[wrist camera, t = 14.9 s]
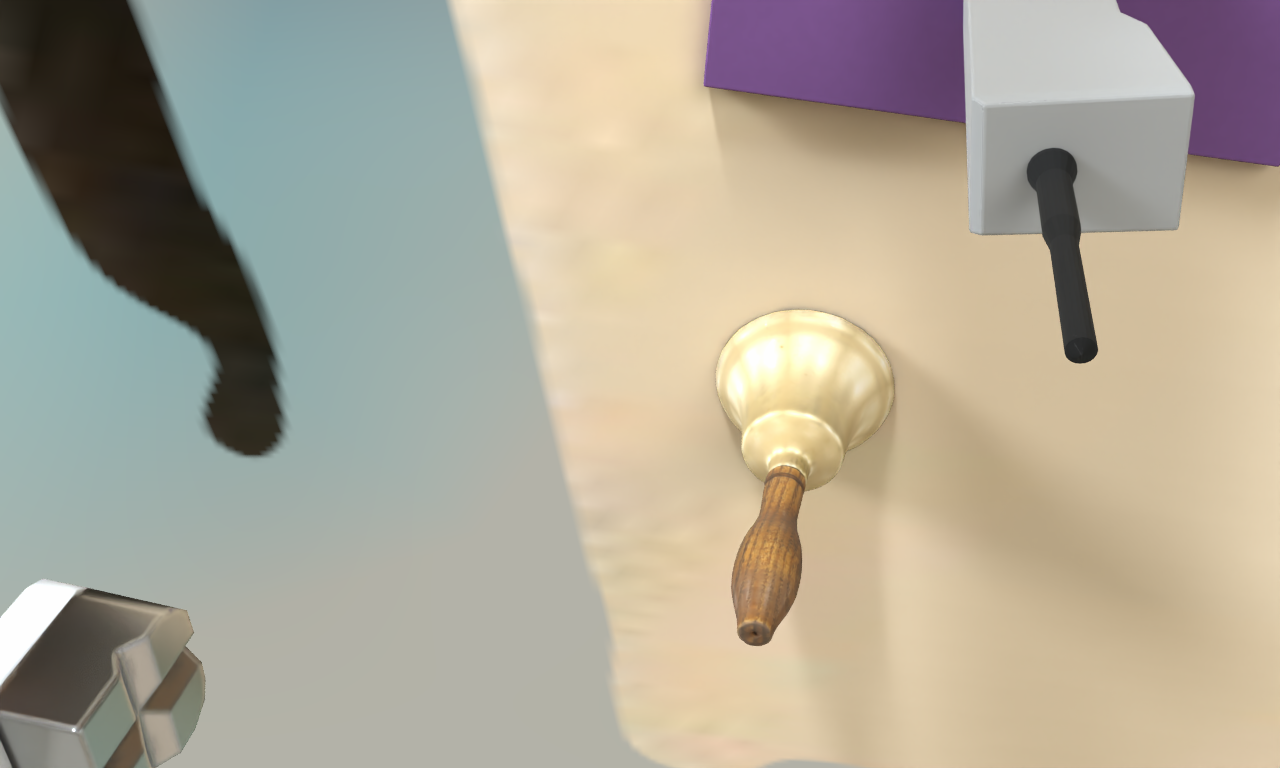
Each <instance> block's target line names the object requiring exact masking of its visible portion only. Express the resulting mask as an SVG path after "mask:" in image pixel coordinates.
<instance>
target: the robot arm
mask: <svg viewBox="0 0 1280 768" xmlns="http://www.w3.org/2000/svg"><path fill="white" fill-rule="evenodd" d="M193 633H194V631H193V628H192V625H191V622H190V619H189V616H188V612H187V610H183V609H178V608H174V607H170V606H165V605H161V604H156V603H152V602H147V601H143V600H138V599H134V598H130V597H125V596H121V595H116V594H111V593H107V592H103V591H99V590H94V589H91V588H86V587H81V586H76V585H71V584H67V583H62V582H57V581H52V580H47V579H42V580H40V581H38V582H36V583H35V584H33V585H31V586H29V587H27V588H26V589H25V590H24V591H23V592H22V593H21V594H20V596H19V597H18V598H17V599H16V600H15V601H14V602H13V604H12V605H11V606H10V607H9V608H8V609H7V610H6V611H5V613H4V614H3V615H2V616H1V617H0V768H156V767H158V766H159V765H161V764H163V763H164V762H166V761H168V760H169V759H171V758H172V757H174V756H176V755H178V754H179V753H181V751H182V750H183V748H184V747H185V745H186V743H187V741H188V740H189V738H190V736H191V735H192V733H193V731H194V730H195V728H196V725H197V722H198V719H199V715H200V712H201V709H202V706H203V703H204V699H205V675H204V670H203V666H202V662H201V661H200V660H199V659H198V658H197V657H196V656H195V655H194V654H193V653H191V651H190V650H189V649H188V648H187V647H186V644H187V643H188V641H189V639H190V638H191V636H192V635H193Z"/></svg>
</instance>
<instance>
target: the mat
mask: <svg viewBox="0 0 1280 768" xmlns="http://www.w3.org/2000/svg"><path fill="white" fill-rule="evenodd" d="M1116 1H1117V4H1118V7H1119V10H1120V12H1121V13H1123V14H1125V15H1128V16H1130V17H1132V18H1134V19H1136V20H1138V21H1141V22H1143V23H1145V24H1147V25H1148V26H1149V28H1150V29H1151V30H1152V32H1153V33H1154V35H1155V36H1156V37H1157V39H1158V40H1159V42H1160V43H1161V44H1162V46H1163V47H1164V49H1165V50H1166V51H1167V53H1168V54H1169V55H1170V57H1171V58H1172V60H1173V61H1174V62H1175V64H1176V65H1177V67H1178V68H1179V69H1180V71H1181V72H1182V74H1183V75H1184V76H1185V78H1186V79H1187V81H1188V82H1189V83H1190V85H1191V87H1192V89H1193V91H1194V94H1195V99H1194V107H1193V115H1192V123H1191V131H1190V139H1189V147H1188V154H1191V155H1198V156H1205V157H1212V158H1219V159H1227V160H1234V161H1241V162H1248V163H1255V164H1262V165H1269V166H1277V167H1278V166H1279V165H1280V0H1116ZM704 86H705V87H712V88H719V89H726V90H733V91H741V92H748V93H755V94H762V95H769V96H776V97H784V98H791V99H798V100H805V101H812V102H819V103H826V104H834V105H841V106H848V107H855V108H862V109H869V110H876V111H884V112H891V113H898V114H905V115H912V116H919V117H926V118H934V119H941V120H948V121H955V122H962V123H966V105H965V73H964V40H963V0H712V3H711V13H710V24H709V34H708V44H707V54H706V65H705V75H704Z"/></svg>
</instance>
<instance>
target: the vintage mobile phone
mask: <svg viewBox="0 0 1280 768" xmlns="http://www.w3.org/2000/svg"><path fill="white" fill-rule="evenodd" d="M963 40H964V73H965V105H966V138H967V171H968V203H969V230H970V232H971V233H975V234H979V235H1013V234H1042V235H1043V238H1044V240H1045V242H1046V244H1047V245H1048V247H1049V249H1050V253H1051V260H1052V267H1053V274H1054V281H1055V288H1056V295H1057V302H1058V309H1059V316H1060V323H1061V330H1062V337H1063V343H1064V350H1065V355H1066V357H1067V359H1069V360H1070V361H1072V362H1074V363H1079V364H1081V363H1086V362H1089V361H1091V360H1092V359H1094V358H1095V356H1096V355H1097V352H1098V347H1097V341H1096V336H1095V330H1094V325H1093V319H1092V314H1091V309H1090V303H1089V298H1088V292H1087V287H1086V282H1085V276H1084V271H1083V265H1082V260H1081V254H1080V249H1079V241H1080V235H1081V233H1088V232H1125V231H1163V230H1177V229H1178V227H1179V220H1180V212H1181V203H1182V195H1183V187H1184V179H1185V171H1186V163H1187V155H1188V147H1189V139H1190V131H1191V123H1192V115H1193V107H1194V99H1195V94H1194V91H1193V89H1192V87H1191V85H1190V83H1189V82H1188V81H1187V79H1186V78H1185V76H1184V75H1183V74H1182V72H1181V71H1180V69H1179V68H1178V67H1177V65H1176V64H1175V62H1174V61H1173V60H1172V58H1171V57H1170V55H1169V54H1168V53H1167V51H1166V50H1165V49H1164V47H1163V46H1162V44H1161V43H1160V42H1159V40H1158V39H1157V37H1156V36H1155V35H1154V33H1153V32H1152V30H1151V29H1150V28H1149V26H1148V25H1147V24H1145V23H1143V22H1141V21H1138V20H1136V19H1134V18H1132V17H1130V16H1128V15H1125V14H1123V13H1121V12H1120V10H1119V7H1118V4H1117V1H1116V0H963Z"/></svg>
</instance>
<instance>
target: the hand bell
mask: <svg viewBox="0 0 1280 768" xmlns="http://www.w3.org/2000/svg"><path fill="white" fill-rule="evenodd" d="M716 387H717V392H718V396H719V399H720V402H721V404H722V406H723V408H724V410H725V412H726V413H727V415H728V417H729V418H730V420H731V421H732V422H733V424H734V425H735V426H736V427H737V428H738V429H739V430H740V431H741V432H742V454H743V458H744V461H745V463H746V464H747V466H748V468H749V469H750V471H751V472H752V473H753V474H754V475H755V476H756V477H757V478H758V479H760V480H761V481H762V482H764V483H765V487H764V492H763V498H762V505H761V510H760V514H759V517H758V518H757V520H756V522H755V523H754V525H753V526H752V527H751V528H750V530H749V531H748V533H747V534H746V536H745V537H744V539H743V541H742V543H741V546H740V548H739V551H738V554H737V557H736V560H735V563H734V568H733V573H732V585H731V590H732V598H733V603H734V608H735V613H736V617H737V633H738V636H739V638H740V639H741V640H743V641H744V642H745V643H746V644H748V645H753V646H762V645H765V644H767V643H769V642H770V640H771V639H772V636H773V634H774V632H775V630H776V628H777V627H778V625H779V624H780V622H781V621H782V620H783V619H784V617H785V616H786V615H787V613H788V611H789V610H790V608H791V606H792V604H793V602H794V600H795V598H796V595H797V591H798V588H799V584H800V579H801V571H802V550H801V544H800V539H799V536H798V532H797V517H798V513H799V509H800V505H801V501H802V497H803V494H804V491H809V490H813V489H816V488H819V487H821V486H823V485H824V484H826V483H828V482H829V481H830V480H831V479H833V478H834V477H835V475H836V474H837V473H838V471H839V470H840V468H841V466H842V463H843V460H844V456H845V453H846V451H849V450H851V449H853V448H855V447H857V446H858V445H860V444H862V443H863V442H865V441H866V440H867V439H868V438H869V437H871V436H872V435H873V434H874V433H875V432H876V431H877V430H878V429H879V428H880V426H881V425H882V424H883V422H884V421H885V419H886V418H887V416H888V414H889V412H890V409H891V407H892V403H893V399H894V378H893V374H892V370H891V366H890V364H889V362H888V359H887V357H886V355H885V354H884V352H883V351H882V350H881V348H880V347H879V345H878V344H877V343H876V342H875V340H874V339H873V338H872V337H870V336H869V335H868V334H867V333H866V332H864V331H863V330H861V329H860V328H858V327H857V326H855V325H854V324H852V323H850V322H848V321H847V320H845V319H843V318H840V317H838V316H834V315H831V314H828V313H824V312H819V311H813V310H786V311H778V312H775V313H770V314H768V315H765V316H761V317H759V318H757V319H755V320H753V321H751V322H750V323H748V324H746V325H745V326H744V327H742V328H741V329H740V330H738V331H737V332H736V333H735V334H734V335H733V336H732V338H731V339H730V340H729V341H728V343H727V344H726V346H725V347H724V348H723V350H722V352H721V355H720V357H719V360H718V363H717V368H716Z"/></svg>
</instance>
